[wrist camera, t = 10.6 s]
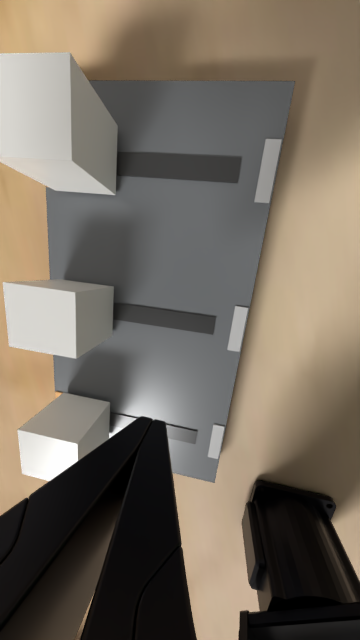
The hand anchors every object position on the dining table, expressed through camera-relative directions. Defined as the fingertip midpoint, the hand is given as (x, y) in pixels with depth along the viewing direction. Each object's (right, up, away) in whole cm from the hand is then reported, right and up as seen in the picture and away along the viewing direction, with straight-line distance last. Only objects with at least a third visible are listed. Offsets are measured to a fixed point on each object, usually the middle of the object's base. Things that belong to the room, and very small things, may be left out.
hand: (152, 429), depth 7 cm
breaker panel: (-1, +4, +9) cm, 10 cm away
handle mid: (-6, +4, +8) cm, 11 cm away
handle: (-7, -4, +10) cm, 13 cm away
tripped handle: (-5, +13, +5) cm, 15 cm away
